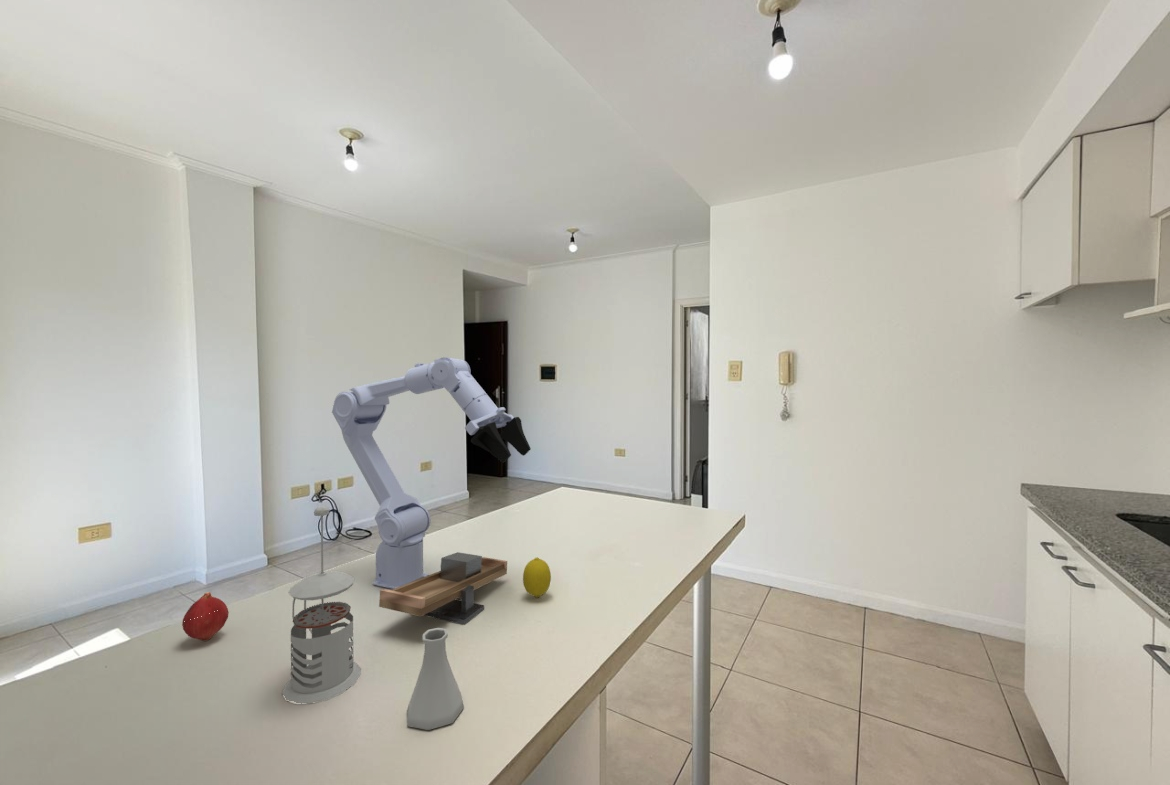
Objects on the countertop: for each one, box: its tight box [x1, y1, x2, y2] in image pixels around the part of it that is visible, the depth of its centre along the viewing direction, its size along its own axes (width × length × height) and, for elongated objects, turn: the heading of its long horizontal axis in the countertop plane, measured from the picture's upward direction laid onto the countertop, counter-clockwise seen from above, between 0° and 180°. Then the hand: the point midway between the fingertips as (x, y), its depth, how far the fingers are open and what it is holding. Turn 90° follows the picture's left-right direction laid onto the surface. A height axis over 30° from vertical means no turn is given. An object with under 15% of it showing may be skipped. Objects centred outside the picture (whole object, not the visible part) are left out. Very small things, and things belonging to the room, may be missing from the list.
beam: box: [378, 556, 508, 617], centre depth 87 cm, size 9×26×3 cm, turn 158°
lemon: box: [522, 557, 552, 599], centre depth 90 cm, size 6×6×8 cm
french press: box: [282, 505, 362, 705], centre depth 65 cm, size 10×12×25 cm
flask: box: [406, 627, 465, 731], centre depth 58 cm, size 7×7×10 cm
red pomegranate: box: [181, 591, 230, 642], centre depth 75 cm, size 6×6×8 cm
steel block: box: [440, 551, 483, 582], centre depth 90 cm, size 6×5×4 cm
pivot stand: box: [417, 576, 485, 626], centre depth 85 cm, size 14×6×5 cm, turn 68°
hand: (517, 455), depth 88 cm, fingers open, 7 cm apart
